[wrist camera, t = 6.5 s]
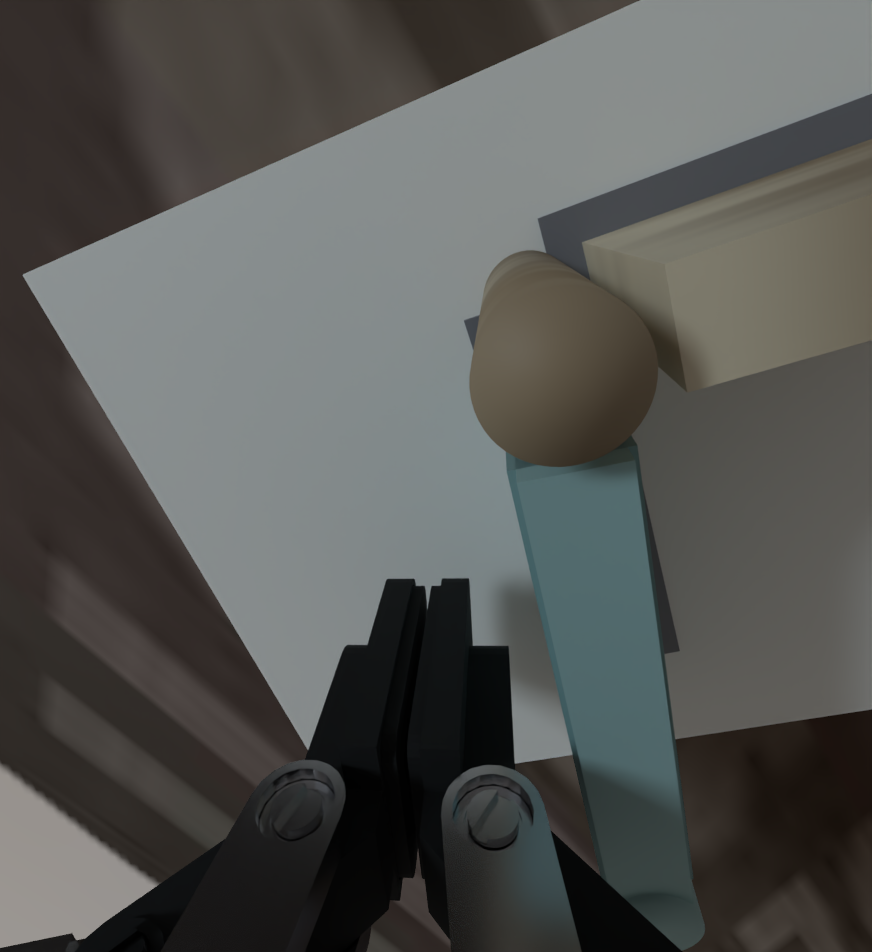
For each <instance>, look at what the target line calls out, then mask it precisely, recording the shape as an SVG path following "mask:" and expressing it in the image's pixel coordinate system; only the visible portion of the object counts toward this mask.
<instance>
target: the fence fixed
mask: <svg viewBox="0 0 872 952" xmlns="http://www.w3.org/2000/svg"><path fill="white" fill-rule="evenodd" d="M582 245H583V250H584V254H585V258H586V263H587V267H588V272H589V276H590V280H591V281H590V280H589V279H587V278H585V277H584V276H582V275H581V274H579V273H578V272H576V271H575V270H573V269H571V268H570V267H568V266H567V265H565V264H564V263H562V262H561V261H559V260H558V259H556V258H554V257H553V256H551V255H549V254H547V253H544V252H541V251H535V250H526V251H520V252H517V253H514V254H512V255H510V256H508V257H506V258H505V259H503V260H502V261H501V262H500V263H499V264H498V265H497V266H496V267H495V268H494V269H493V270H492V272H491V273H490V275H489V277H488V279H487V281H486V284H485V288H484V292H483V298H482V304H481V310H480V316H479V321H478V327H477V333H476V339H475V345H474V350H473V356H472V362H471V369H470V376H469V388H470V396H471V401H472V405H473V409H474V411H475V414H476V416H477V419H478V421H479V422H480V424H481V426H482V428H483V429H484V431H485V432H486V433H487V434H488V436H489V437H490V438H491V439H492V440H493V441H494V442H495V443H496V444H497V445H498V446H499V447H501V448H502V449H503V450H504V451H506V452H507V453H509V454H511V455H512V456H514V457H516V458H518V459H521V460H523V461H525V462H528V463H532V464H536V465H541V466H548V467H566V466H574V465H579V464H584V463H587V462H590V461H593V460H595V459H598V458H600V457H602V456H604V455H606V454H608V453H609V452H611V451H612V450H614V449H616V448H617V447H618V446H620V445H621V444H622V443H623V442H625V441H626V440H627V439H628V438H629V437H630V436H631V435H632V434H633V433H634V432H635V430H636V429H637V428H638V426H639V425H640V424H641V423H642V421H643V419H644V418H645V416H646V414H647V413H648V410H649V408H650V406H651V404H652V401H653V398H654V395H655V391H656V387H657V380H658V367H659V368H661V369H662V370H663V371H664V372H665V373H666V374H667V375H668V376H669V377H670V378H672V379H673V380H674V381H675V382H676V383H677V384H678V385H679V386H680V387H682V388H683V389H684V390H685V391H686V392H687V393H688V392H691V391H695V390H698V389H702V388H706V387H709V386H713V385H716V384H720V383H723V382H727V381H730V380H734V379H737V378H741V377H744V376H748V375H751V374H755V373H758V372H762V371H765V370H769V369H772V368H776V367H779V366H783V365H786V364H790V363H793V362H797V361H800V360H804V359H807V358H811V357H814V356H818V355H821V354H825V353H828V352H832V351H835V350H839V349H843V348H846V347H850V346H853V345H857V344H860V343H864V342H867V341H871V340H872V139H870V140H867V141H864V142H862V143H859V144H856V145H853V146H850V147H848V148H845V149H842V150H839V151H836V152H834V153H831V154H828V155H825V156H822V157H820V158H817V159H814V160H811V161H808V162H806V163H803V164H800V165H797V166H794V167H792V168H789V169H786V170H783V171H780V172H778V173H775V174H772V175H769V176H766V177H764V178H761V179H758V180H755V181H752V182H750V183H747V184H744V185H741V186H738V187H736V188H733V189H730V190H727V191H724V192H722V193H719V194H716V195H713V196H710V197H708V198H705V199H702V200H699V201H696V202H694V203H691V204H688V205H685V206H682V207H680V208H677V209H674V210H671V211H668V212H666V213H663V214H660V215H657V216H654V217H652V218H649V219H646V220H643V221H640V222H638V223H635V224H632V225H629V226H626V227H624V228H621V229H618V230H615V231H612V232H610V233H607V234H604V235H601V236H598V237H596V238H593V239H590V240H587V241H584V242H582Z"/></svg>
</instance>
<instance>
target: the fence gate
mask: <svg viewBox="0 0 872 952" xmlns="http://www.w3.org/2000/svg"><path fill="white" fill-rule="evenodd" d="M506 469H507V475H508V479H509V484H510V488H511V492H512V497H513V501H514V505H515V509H516V514H517V518H518V522H519V527H520V531H521V535H522V540H523V544H524V548H525V552H526V557H527V561H528V565H529V570H530V574H531V578H532V583H533V587H534V591H535V595H536V600H537V604H538V608H539V613H540V617H541V621H542V626H543V630H544V634H545V638H546V643H547V647H548V651H549V656H550V660H551V664H552V669H553V673H554V677H555V681H556V686H557V690H558V694H559V699H560V703H561V707H562V712H563V716H564V720H565V724H566V729H567V733H568V737H569V742H570V746H571V750H572V755H573V759H574V763H575V767H576V772H577V776H578V780H579V785H580V789H581V793H582V797H583V802H584V806H585V810H586V815H587V819H588V823H589V828H590V832H591V836H592V840H593V845H594V849H595V853H596V858H597V862H598V866H599V871H600V875H601V877H602V878H603V879H604V880H605V881H606V882H607V883H608V884H609V885H610V886H612V887H613V888H614V889H615V890H616V891H617V892H618V893H619V894H620V895H621V896H622V897H623V898H625V899H626V900H627V901H628V902H629V903H630V904H631V905H632V906H633V907H634V908H635V909H637V910H638V911H639V912H640V913H641V914H642V915H643V916H644V917H645V918H646V919H647V920H649V921H650V922H651V923H652V924H653V925H654V926H655V927H656V928H657V929H658V930H659V931H661V932H662V933H663V934H664V935H665V936H666V937H667V938H668V939H669V940H670V941H671V942H672V943H674V944H675V945H676V946H677V947H678V948H679V949H680V950H681V951H682V950H685V949H687V948H689V947H691V946H693V945H695V944H696V943H697V942H698V941H700V939H701V938H702V937H703V935H704V932H705V925H704V921H703V918H702V915H701V911H700V908H699V904H698V901H697V898H696V894H695V891H694V888H693V884H692V881H691V879H693V872H692V865H691V857H690V849H689V841H688V833H687V826H686V818H685V810H684V802H683V795H682V787H681V779H680V771H679V764H678V756H677V748H676V740H675V733H674V725H673V717H672V709H671V702H670V694H669V686H668V678H667V671H666V663H665V655H664V647H663V640H662V632H661V624H660V616H659V609H658V601H657V593H656V585H655V578H654V570H653V562H652V554H651V546H650V539H649V531H648V523H647V515H646V508H645V500H644V492H643V484H642V477H641V469H640V461H639V453H638V446H637V444H636V442H635V441H634V439H633V437H632V436H630V437H629V438H628V439H627V440H626V441H625V442H623V443H622V444H621V445H620V446H618V447H617V448H616V449H614V450H612V451H611V452H609V453H608V454H606V455H604V456H602V457H600V458H598V459H595V460H593V461H590V462H587V463H584V464H579V465H574V466H566V467H548V466H541V465H536V464H532V463H528V462H525V461H523V460H521V459H518V458H516V457H514V456H512V455H511V454H509V453H507V452H506Z"/></svg>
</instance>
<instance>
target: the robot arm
mask: <svg viewBox="0 0 872 952" xmlns="http://www.w3.org/2000/svg"><path fill="white" fill-rule="evenodd" d="M418 850H419V858H420V866H421V874H422V878H423V879H425V884H426V893H427V901H428V909H429V913H430V914H431V916H432V917H433V918H434V920H435V921H436V922H437V923H438V925H439V926H440V927H441V929H442V930H443V931H444V933H445V934H446V935H447V937H448V938H449V939H450V942H451V952H682V951H681V950H680V949H679V948H678V947H677V946H676V945H675V944H674V943H672V942H671V941H670V940H669V939H668V938H667V937H666V936H665V935H664V934H663V933H662V932H661V931H659V930H658V929H657V928H656V927H655V926H654V925H653V924H652V923H651V922H650V921H649V920H647V919H646V918H645V917H644V916H643V915H642V914H641V913H640V912H639V911H638V910H637V909H635V908H634V907H633V906H632V905H631V904H630V903H629V902H628V901H627V900H626V899H625V898H623V897H622V896H621V895H620V894H619V893H618V892H617V891H616V890H615V889H614V888H613V887H612V886H610V885H609V884H608V883H607V882H606V881H605V880H604V879H603V878H602V877H601V876H600V875H598V874H597V873H596V872H595V871H594V870H593V869H592V868H591V867H590V866H589V865H588V864H586V863H585V862H584V861H583V860H582V859H581V858H580V857H579V856H578V855H577V854H576V853H575V852H573V851H572V850H571V849H570V848H569V847H568V846H567V845H566V844H565V843H564V842H563V841H561V840H560V839H559V838H558V837H557V836H556V835H555V834H554V833H553V832H552V831H551V830H550V827H549V823H548V819H547V815H546V811H545V807H544V804H543V802H542V799H541V797H540V795H539V792H538V790H537V789H536V788H535V787H534V786H533V784H532V783H531V782H530V781H529V780H528V779H527V778H526V777H524V776H523V775H521V774H520V773H518V772H517V771H515V759H514V739H513V719H512V699H511V680H510V660H509V646H473V639H472V619H471V600H470V582H469V578H442V581H441V586H431V591H430V597H429V603H428V609H427V600H426V590H425V586H416V583H415V579H387V580H386V582H385V586H384V589H383V593H382V596H381V599H380V603H379V606H378V610H377V613H376V617H375V620H374V624H373V627H372V630H371V634H370V637H369V641H368V644H367V645H346V646H345V647H344V649H343V652H342V654H341V657H340V660H339V663H338V665H337V668H336V671H335V674H334V677H333V680H332V683H331V686H330V689H329V692H328V694H327V697H326V700H325V703H324V706H323V709H322V712H321V715H320V718H319V720H318V723H317V726H316V729H315V732H314V735H313V738H312V741H311V744H310V747H309V749H308V752H307V755H306V758H305V760H300V761H296V762H292V763H288V764H286V765H284V766H282V767H280V768H278V769H276V770H274V771H273V772H272V773H271V774H269V775H268V776H267V777H266V778H265V779H263V780H262V781H261V782H260V784H259V785H258V786H257V788H256V789H255V790H254V792H253V793H252V794H251V796H250V798H249V799H248V801H247V803H246V805H245V806H244V808H243V810H242V811H241V813H240V815H239V817H238V818H237V820H236V822H235V824H234V825H233V827H232V829H231V830H230V832H229V834H228V836H227V837H226V839H224V840H223V841H222V842H220V843H219V844H217V845H216V846H214V847H213V848H211V849H210V850H209V851H207V852H206V853H204V854H203V855H201V856H200V857H198V858H197V859H196V860H194V861H193V862H191V863H190V864H188V865H187V866H185V867H184V868H183V869H181V870H180V871H178V872H177V873H175V874H174V875H172V876H171V877H170V878H168V879H167V880H165V881H164V882H162V883H161V884H159V885H158V886H157V887H155V888H154V889H152V890H151V891H149V892H148V893H146V894H145V895H144V896H142V897H141V898H139V899H138V900H136V901H135V902H133V903H132V904H131V905H129V906H128V907H126V908H125V909H123V910H122V911H120V912H119V913H118V914H116V915H115V916H113V917H112V918H110V919H109V920H107V921H106V922H105V923H103V924H102V925H101V926H100V927H99V928H97V929H96V930H95V931H94V932H93V933H92V934H90V935H89V936H88V937H87V938H86V939H81V940H76V939H75V938H74V936H73V934H66V935H62V936H57V937H52V938H47V939H42V940H38V941H33V942H28V943H23V944H18V945H13V946H8V947H4V948H0V952H366V951H367V948H368V944H369V939H370V933H371V925H372V924H373V923H374V922H375V921H377V920H378V919H379V918H380V917H381V916H382V915H383V914H384V913H385V912H386V911H387V910H388V909H389V902H390V900H397V901H400V896H401V888H402V880H403V878H413V877H414V874H415V868H416V860H417V851H418Z"/></svg>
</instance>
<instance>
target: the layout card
mask: <svg viewBox="0 0 872 952" xmlns="http://www.w3.org/2000/svg"><path fill="white" fill-rule="evenodd" d="M870 139H872V0H640V1H638V2H636V3H633V4H631V5H629V6H627V7H624V8H622V9H620V10H618V11H615V12H613V13H611V14H609V15H606V16H604V17H602V18H600V19H597V20H595V21H593V22H591V23H588V24H586V25H584V26H582V27H579V28H577V29H575V30H573V31H570V32H568V33H566V34H564V35H561V36H559V37H557V38H555V39H552V40H550V41H548V42H546V43H543V44H541V45H539V46H537V47H534V48H532V49H530V50H527V51H525V52H523V53H521V54H518V55H516V56H514V57H512V58H509V59H507V60H505V61H503V62H500V63H498V64H496V65H494V66H491V67H489V68H487V69H485V70H482V71H480V72H478V73H476V74H473V75H471V76H469V77H467V78H464V79H462V80H460V81H458V82H455V83H453V84H451V85H449V86H446V87H444V88H442V89H440V90H437V91H435V92H433V93H431V94H428V95H426V96H424V97H422V98H419V99H417V100H415V101H413V102H410V103H408V104H406V105H404V106H401V107H399V108H397V109H395V110H392V111H390V112H388V113H386V114H383V115H381V116H379V117H377V118H374V119H372V120H370V121H368V122H365V123H363V124H361V125H359V126H356V127H354V128H352V129H350V130H347V131H345V132H343V133H341V134H338V135H336V136H334V137H332V138H329V139H327V140H325V141H323V142H320V143H318V144H316V145H314V146H311V147H309V148H307V149H305V150H302V151H300V152H298V153H296V154H293V155H291V156H289V157H287V158H284V159H282V160H280V161H278V162H275V163H273V164H271V165H269V166H266V167H264V168H262V169H260V170H257V171H255V172H253V173H251V174H248V175H246V176H244V177H242V178H239V179H237V180H235V181H233V182H230V183H228V184H226V185H224V186H221V187H219V188H217V189H215V190H212V191H210V192H208V193H206V194H203V195H201V196H199V197H197V198H194V199H192V200H190V201H188V202H185V203H183V204H181V205H179V206H176V207H174V208H172V209H170V210H167V211H165V212H163V213H161V214H158V215H156V216H154V217H152V218H149V219H147V220H145V221H143V222H140V223H138V224H136V225H134V226H131V227H129V228H127V229H125V230H122V231H120V232H118V233H116V234H113V235H111V236H109V237H107V238H104V239H102V240H100V241H98V242H95V243H93V244H91V245H89V246H86V247H84V248H82V249H80V250H77V251H75V252H73V253H71V254H68V255H66V256H64V257H62V258H59V259H57V260H55V261H53V262H50V263H48V264H46V265H43V266H41V267H39V268H37V269H34V270H32V271H30V272H28V273H25V274H23V277H24V278H25V280H26V282H27V283H28V285H29V287H30V288H31V290H32V292H33V293H34V295H35V297H36V298H37V300H38V302H39V303H40V305H41V307H42V308H43V310H44V312H45V313H46V315H47V317H48V318H49V320H50V322H51V323H52V325H53V327H54V328H55V330H56V332H57V333H58V335H59V337H60V338H61V340H62V342H63V343H64V345H65V347H66V348H67V350H68V352H69V353H70V355H71V357H72V358H73V360H74V362H75V363H76V365H77V367H78V368H79V370H80V372H81V373H82V375H83V377H84V378H85V380H86V382H87V383H88V385H89V387H90V388H91V390H92V392H93V393H94V395H95V397H96V398H97V400H98V402H99V403H100V405H101V407H102V408H103V410H104V412H105V413H106V415H107V416H108V418H109V420H110V421H111V423H112V425H113V426H114V428H115V430H116V431H117V433H118V435H119V436H120V438H121V440H122V441H123V443H124V445H125V446H126V448H127V450H128V451H129V453H130V455H131V456H132V458H133V460H134V461H135V463H136V465H137V466H138V468H139V470H140V471H141V473H142V475H143V476H144V478H145V480H146V481H147V483H148V485H149V486H150V488H151V490H152V491H153V493H154V495H155V496H156V498H157V500H158V501H159V503H160V505H161V506H162V508H163V510H164V511H165V513H166V515H167V516H168V518H169V520H170V521H171V523H172V525H173V526H174V528H175V530H176V531H177V533H178V535H179V536H180V538H181V540H182V541H183V543H184V545H185V546H186V548H187V550H188V551H189V553H190V555H191V556H192V558H193V560H194V561H195V563H196V564H197V566H198V568H199V569H200V571H201V573H202V574H203V576H204V578H205V579H206V581H207V583H208V584H209V586H210V588H211V589H212V591H213V593H214V594H215V596H216V598H217V599H218V601H219V603H220V604H221V606H222V608H223V609H224V611H225V613H226V614H227V616H228V618H229V619H230V621H231V623H232V624H233V626H234V628H235V629H236V631H237V633H238V634H239V636H240V638H241V639H242V641H243V643H244V644H245V646H246V648H247V649H248V651H249V653H250V654H251V656H252V658H253V659H254V661H255V663H256V664H257V666H258V668H259V669H260V671H261V673H262V674H263V676H264V678H265V679H266V681H267V683H268V684H269V686H270V688H271V689H272V691H273V693H274V694H275V696H276V698H277V699H278V701H279V703H280V704H281V706H282V708H283V709H284V711H285V713H286V714H287V716H288V717H289V719H290V721H291V722H292V724H293V726H294V727H295V729H296V731H297V732H298V734H299V736H300V737H301V739H302V741H303V742H304V744H305V746H306V747H307V749H309V747H310V744H311V741H312V738H313V735H314V732H315V729H316V726H317V723H318V720H319V718H320V715H321V712H322V709H323V706H324V703H325V700H326V697H327V694H328V692H329V689H330V686H331V683H332V680H333V677H334V674H335V671H336V668H337V665H338V663H339V660H340V657H341V654H342V652H343V649H344V647H345V646H346V645H367V644H368V641H369V637H370V634H371V630H372V627H373V624H374V620H375V617H376V613H377V610H378V606H379V603H380V599H381V596H382V593H383V589H384V586H385V582H386V580H387V579H415V583H416V586H425V590H426V600H427V609H428V603H429V597H430V591H431V586H441V581H442V578H469V582H470V600H471V619H472V639H473V646H509V660H510V680H511V699H512V719H513V739H514V759H515V763H522V762H528V761H535V760H541V759H548V758H555V757H561V756H568V755H572V750H571V746H570V742H569V737H568V733H567V729H566V724H565V720H564V716H563V712H562V707H561V703H560V699H559V694H558V690H557V686H556V681H555V677H554V673H553V669H552V664H551V660H550V656H549V651H548V647H547V643H546V638H545V634H544V630H543V626H542V621H541V617H540V613H539V608H538V604H537V600H536V595H535V591H534V587H533V583H532V578H531V574H530V570H529V565H528V561H527V557H526V552H525V548H524V544H523V540H522V535H521V531H520V527H519V522H518V518H517V514H516V509H515V505H514V501H513V497H512V492H511V488H510V484H509V479H508V475H507V469H506V451H504V450H503V449H502V448H501V447H499V446H498V445H497V444H496V443H495V442H494V441H493V440H492V439H491V438H490V437H489V436H488V434H487V433H486V432H485V431H484V429H483V428H482V426H481V424H480V422H479V421H478V419H477V416H476V414H475V411H474V409H473V405H472V401H471V396H470V388H469V376H470V369H471V362H472V356H473V350H474V345H475V339H476V333H477V327H478V321H479V316H480V310H481V304H482V298H483V292H484V288H485V284H486V281H487V279H488V277H489V275H490V273H491V272H492V270H493V269H494V268H495V267H496V266H497V265H498V264H499V263H500V262H501V261H502V260H503V259H505V258H506V257H508V256H510V255H512V254H514V253H517V252H520V251H526V250H535V251H541V252H544V253H547V254H549V255H551V256H553V257H554V258H556V259H558V260H559V261H561V262H562V263H564V264H565V265H567V266H568V267H570V268H571V269H573V270H575V271H576V272H578V273H579V274H581V275H582V276H584V277H585V278H587V279H589V280H590V276H589V272H588V267H587V263H586V258H585V254H584V250H583V245H582V242H584V241H587V240H590V239H593V238H596V237H598V236H601V235H604V234H607V233H610V232H612V231H615V230H618V229H621V228H624V227H626V226H629V225H632V224H635V223H638V222H640V221H643V220H646V219H649V218H652V217H654V216H657V215H660V214H663V213H666V212H668V211H671V210H674V209H677V208H680V207H682V206H685V205H688V204H691V203H694V202H696V201H699V200H702V199H705V198H708V197H710V196H713V195H716V194H719V193H722V192H724V191H727V190H730V189H733V188H736V187H738V186H741V185H744V184H747V183H750V182H752V181H755V180H758V179H761V178H764V177H766V176H769V175H772V174H775V173H778V172H780V171H783V170H786V169H789V168H792V167H794V166H797V165H800V164H803V163H806V162H808V161H811V160H814V159H817V158H820V157H822V156H825V155H828V154H831V153H834V152H836V151H839V150H842V149H845V148H848V147H850V146H853V145H856V144H859V143H862V142H864V141H867V140H870ZM590 281H591V280H590ZM631 436H632V437H633V439H634V441H635V442H636V444H637V446H638V453H639V461H640V469H641V477H642V484H643V492H644V500H645V508H646V515H647V523H648V531H649V539H650V546H651V554H652V562H653V570H654V578H655V585H656V593H657V601H658V609H659V616H660V624H661V632H662V640H663V647H664V655H665V663H666V671H667V678H668V686H669V694H670V702H671V709H672V717H673V725H674V733H675V739H680V738H687V737H693V736H700V735H706V734H713V733H720V732H726V731H733V730H739V729H746V728H753V727H759V726H766V725H772V724H779V723H786V722H792V721H799V720H805V719H812V718H819V717H825V716H832V715H838V714H845V713H852V712H858V711H865V710H871V709H872V340H871V341H867V342H864V343H860V344H857V345H853V346H850V347H846V348H843V349H839V350H835V351H832V352H828V353H825V354H821V355H818V356H814V357H811V358H807V359H804V360H800V361H797V362H793V363H790V364H786V365H783V366H779V367H776V368H772V369H769V370H765V371H762V372H758V373H755V374H751V375H748V376H744V377H741V378H737V379H734V380H730V381H727V382H723V383H720V384H716V385H713V386H709V387H706V388H702V389H698V390H695V391H691V392H688V393H687V392H686V391H685V390H684V389H683V388H682V387H680V386H679V385H678V384H677V383H676V382H675V381H674V380H673V379H672V378H670V377H669V376H668V375H667V374H666V373H665V372H664V371H663V370H662V369H661V368H659V367H658V380H657V387H656V391H655V395H654V398H653V401H652V404H651V406H650V408H649V410H648V413H647V414H646V416H645V418H644V419H643V421H642V423H641V424H640V425H639V426H638V428H637V429H636V430H635V432H634V433H633V434H632V435H631Z"/></svg>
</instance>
